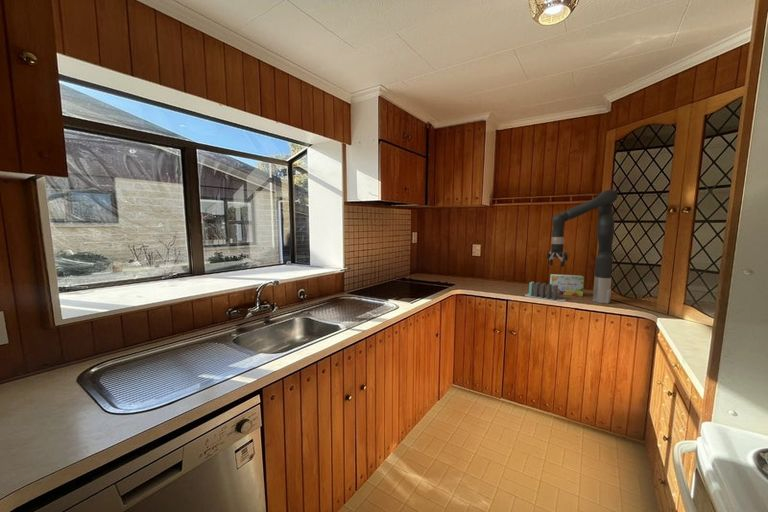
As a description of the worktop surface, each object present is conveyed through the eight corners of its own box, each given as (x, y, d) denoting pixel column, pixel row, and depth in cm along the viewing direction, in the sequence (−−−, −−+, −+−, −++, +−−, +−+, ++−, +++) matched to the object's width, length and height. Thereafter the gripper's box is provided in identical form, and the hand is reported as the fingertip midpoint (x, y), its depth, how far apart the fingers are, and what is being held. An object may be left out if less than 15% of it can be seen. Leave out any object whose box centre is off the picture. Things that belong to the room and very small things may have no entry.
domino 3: (545, 296, 221) (545, 283, 220) (542, 298, 217) (543, 284, 216) (542, 296, 222) (543, 283, 221) (540, 297, 219) (541, 284, 217)
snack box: (550, 294, 228) (551, 275, 226) (549, 293, 234) (550, 273, 232) (582, 296, 222) (584, 276, 220) (580, 294, 227) (581, 275, 226)
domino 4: (551, 297, 218) (551, 284, 217) (548, 299, 215) (549, 285, 213) (548, 297, 219) (549, 283, 218) (546, 298, 216) (547, 284, 215)
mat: (566, 299, 213) (566, 299, 213) (562, 302, 206) (562, 302, 206) (528, 293, 232) (528, 293, 232) (523, 296, 225) (523, 295, 225)
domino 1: (533, 294, 227) (534, 281, 225) (531, 296, 223) (531, 282, 222) (531, 294, 228) (532, 281, 227) (528, 295, 224) (529, 282, 223)
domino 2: (539, 295, 224) (540, 282, 223) (536, 297, 220) (537, 283, 219) (537, 295, 225) (537, 282, 224) (534, 296, 221) (535, 283, 220)
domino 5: (557, 298, 215) (558, 285, 214) (554, 300, 212) (555, 286, 211) (554, 298, 216) (555, 284, 215) (552, 299, 213) (553, 285, 212)
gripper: (570, 243, 209) (569, 266, 210) (552, 242, 222) (551, 264, 223) (563, 244, 206) (562, 267, 207) (544, 243, 219) (544, 265, 220)
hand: (556, 266), depth 215 cm, fingers open, 8 cm apart
